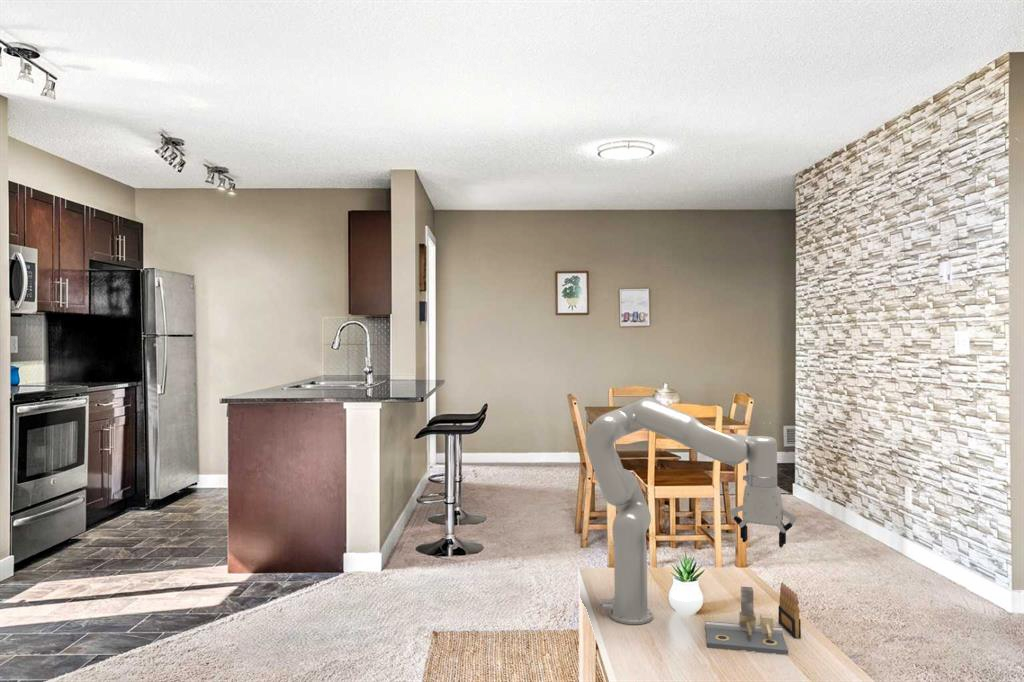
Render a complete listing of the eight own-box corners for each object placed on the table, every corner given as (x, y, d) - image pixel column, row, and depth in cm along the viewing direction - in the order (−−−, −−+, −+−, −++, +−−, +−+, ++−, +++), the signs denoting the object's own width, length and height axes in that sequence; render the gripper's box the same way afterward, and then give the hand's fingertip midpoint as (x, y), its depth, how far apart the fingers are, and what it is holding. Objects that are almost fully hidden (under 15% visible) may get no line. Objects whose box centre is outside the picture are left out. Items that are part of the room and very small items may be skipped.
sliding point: (742, 637, 182) (741, 597, 182) (739, 624, 191) (739, 586, 191) (758, 639, 181) (757, 599, 181) (754, 625, 190) (754, 587, 190)
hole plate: (707, 647, 181) (706, 626, 181) (705, 625, 196) (705, 605, 196) (788, 655, 176) (788, 633, 176) (780, 631, 191) (780, 611, 191)
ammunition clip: (801, 638, 186) (800, 594, 186) (794, 638, 186) (793, 594, 186) (784, 622, 197) (784, 580, 197) (778, 622, 197) (777, 580, 197)
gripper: (727, 480, 191) (727, 542, 191) (793, 487, 183) (794, 551, 182) (733, 476, 198) (734, 536, 198) (798, 482, 189) (798, 544, 189)
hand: (762, 543), depth 190 cm, fingers open, 9 cm apart
